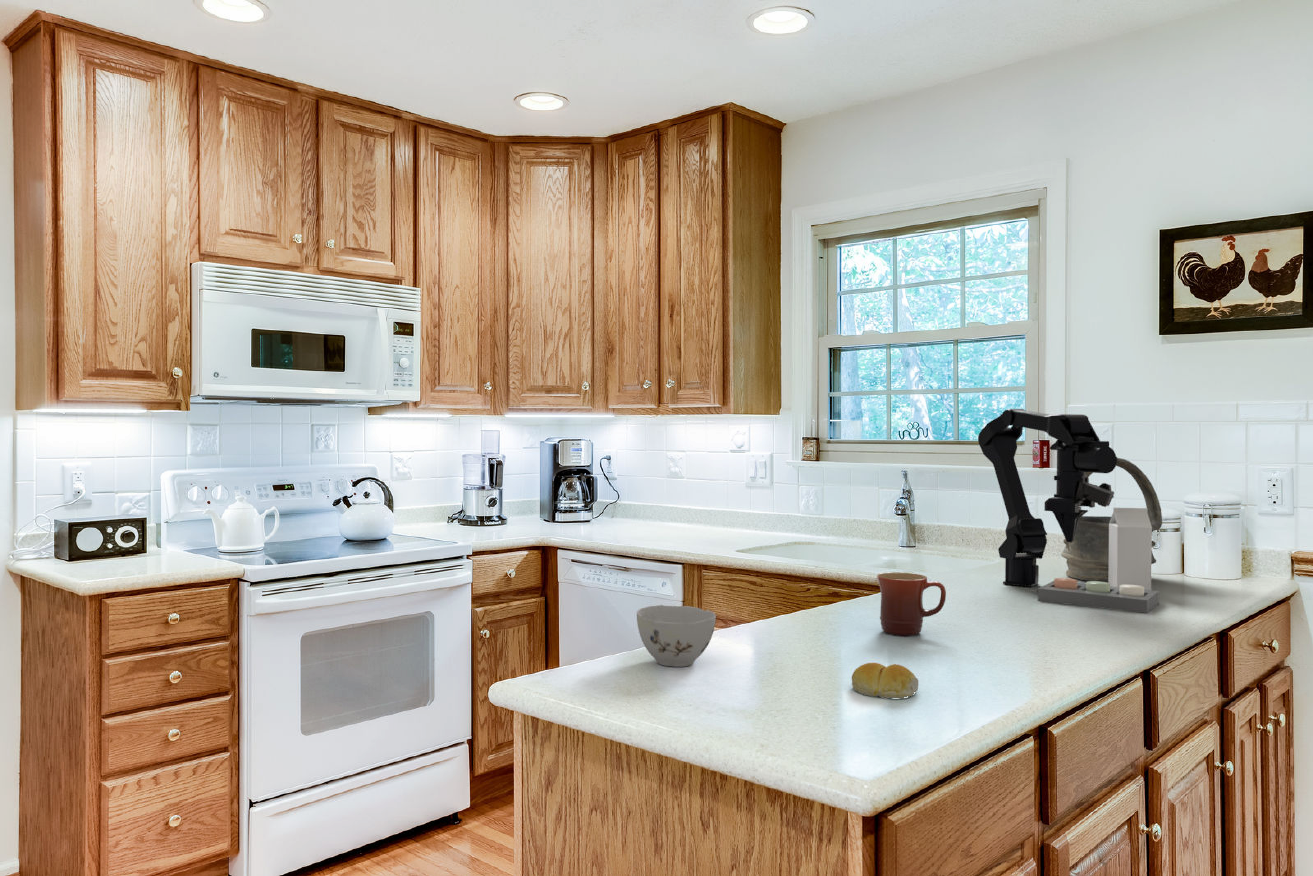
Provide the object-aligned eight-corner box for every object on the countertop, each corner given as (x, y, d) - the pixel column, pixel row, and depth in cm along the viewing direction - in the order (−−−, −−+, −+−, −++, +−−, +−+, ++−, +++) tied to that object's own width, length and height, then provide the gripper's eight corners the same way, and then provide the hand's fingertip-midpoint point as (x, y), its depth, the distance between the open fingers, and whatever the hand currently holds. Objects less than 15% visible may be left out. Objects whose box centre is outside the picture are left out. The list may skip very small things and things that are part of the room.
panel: (1037, 600, 198) (1038, 588, 198) (1054, 592, 209) (1054, 580, 209) (1146, 613, 185) (1147, 600, 185) (1158, 603, 196) (1158, 591, 196)
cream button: (1117, 601, 193) (1117, 586, 193) (1121, 597, 196) (1122, 583, 196) (1141, 603, 190) (1141, 589, 190) (1145, 600, 193) (1146, 586, 193)
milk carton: (1151, 594, 206) (1152, 509, 206) (1116, 593, 208) (1117, 508, 207) (1141, 589, 213) (1142, 506, 213) (1108, 587, 215) (1109, 506, 214)
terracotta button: (1051, 593, 201) (1051, 580, 200) (1057, 590, 204) (1057, 577, 204) (1074, 596, 198) (1074, 582, 198) (1079, 593, 201) (1079, 579, 201)
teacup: (698, 677, 137) (698, 623, 136) (622, 667, 142) (622, 615, 141) (731, 654, 150) (732, 605, 150) (661, 646, 155) (661, 599, 155)
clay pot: (1158, 589, 213) (1160, 459, 213) (1050, 579, 226) (1051, 457, 225) (1163, 576, 232) (1165, 457, 232) (1063, 568, 244) (1065, 454, 244)
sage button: (1083, 597, 197) (1083, 583, 197) (1088, 594, 200) (1089, 580, 200) (1107, 599, 194) (1107, 585, 194) (1112, 596, 197) (1112, 582, 197)
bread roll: (862, 680, 136) (862, 653, 136) (923, 690, 131) (923, 662, 131) (841, 694, 129) (841, 665, 129) (905, 705, 124) (905, 675, 124)
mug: (874, 635, 164) (874, 578, 164) (878, 625, 172) (879, 571, 172) (944, 641, 160) (945, 582, 160) (946, 630, 168) (946, 574, 168)
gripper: (1100, 474, 191) (1099, 549, 191) (1120, 471, 205) (1119, 541, 206) (1044, 472, 197) (1043, 545, 198) (1066, 469, 212) (1066, 537, 212)
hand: (1069, 542), depth 203 cm, fingers closed
